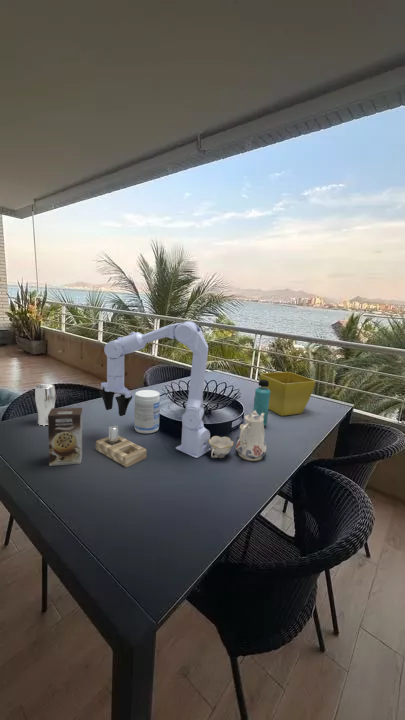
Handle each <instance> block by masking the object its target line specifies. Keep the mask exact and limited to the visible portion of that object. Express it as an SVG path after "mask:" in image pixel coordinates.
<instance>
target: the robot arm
mask: <svg viewBox="0 0 405 720" xmlns="http://www.w3.org/2000/svg"><path fill="white" fill-rule="evenodd" d="M164 338H168V339H171V340H174V339H176V341H177V342H179V343H181V344H182V345H184V346H186V347H187V348H188V349H189V351H191V352H192V358H191V359H192V362H191V370H190V377H189V386H188V388H189V389H188V396H187V397H188V398H187V402H186V407H185V411H184V413H183V414H182V416H181V422H182V423H181V424H182V427H181V444H180V445H177V446H176V447H175V449H176V450H177V451H180V452H182V453H184V454H187V455H189V456H190V457H193V458H195V459H198V458H200V457H201V456H203V455H205V454H206V453H208V452H210V451H212V450H211V447H210V444H209V442H208V440H209V439H211V432H210V430H209V429H207V428H206V427H205V426H204V422H203V419H202V418H203V417H204V414H205V408H204V405H203V403H204V399H203V396H204V387H205V381H206V379H205V378H206V373H207V372H206V371H207V365H208V363H207V362H208V356H209V355H208V354H209V345H208V342H207V340H206V339H205V337H204V334H203V332H202V328H200V327H199V326H198V325H197V324H196V323H195V322H194V321H191V320H186V321H184V322H176V323H172V324H168V325H165V326H162V327H159V328H157V329H154V330H151V331H149V332H147V333H141V332H139V331H137V332H135V331H131V332H129V334H128V335H126V336H123V337H122V336H119V337H117V339H115V340H110V341H109V342H107V343H105V345H104V347H103V350H104V354H105V355H106V361H107V362H106V382H100V389H101V390H99V392H98V393H99V394H100V396H101V398H102V401H103V403H104V407H105V410H106V411H109V410H112V409H113V404H114V402H113V401H114V396H115V394H118V395H119V396H115V400H116V403H117V406H118V408H117V409H118V416H119V417H123V416H125V415H126V413H127V410H128V406H129V404H130V402H131V401H132V399H133V395H132V391H131V390H129V389H128V388H127V387H125V355H128V354H131V353H135V352H137V351H141V350H143V349H145V347H146V344H147V343H151V342H155V341H158V340H161V339H164Z"/></svg>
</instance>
